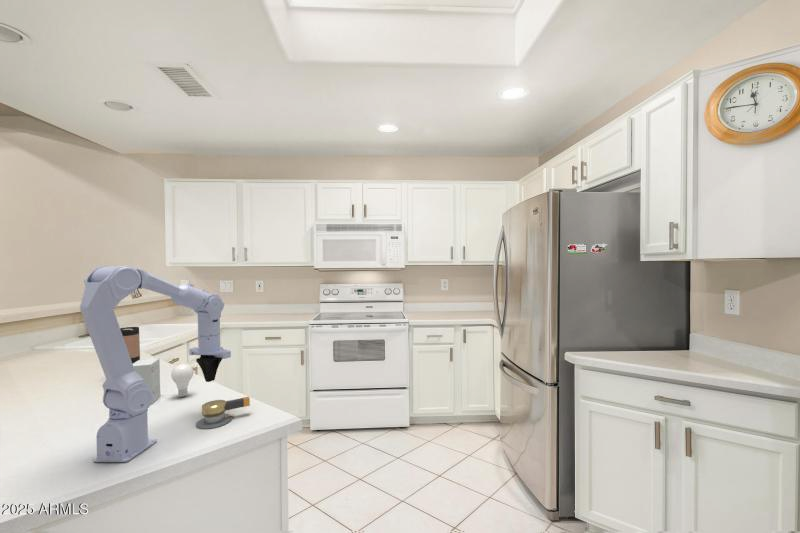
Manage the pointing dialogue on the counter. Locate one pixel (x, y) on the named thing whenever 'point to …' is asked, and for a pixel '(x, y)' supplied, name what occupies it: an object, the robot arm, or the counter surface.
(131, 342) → the travel mug
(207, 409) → the collar
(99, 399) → the counter surface
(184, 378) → the lightbulb
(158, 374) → the small box
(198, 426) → the post base
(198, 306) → the robot arm
